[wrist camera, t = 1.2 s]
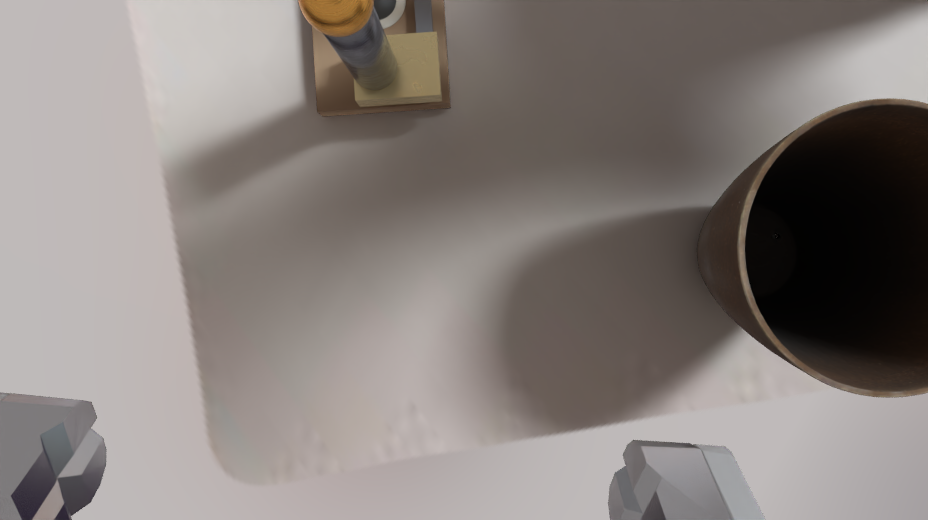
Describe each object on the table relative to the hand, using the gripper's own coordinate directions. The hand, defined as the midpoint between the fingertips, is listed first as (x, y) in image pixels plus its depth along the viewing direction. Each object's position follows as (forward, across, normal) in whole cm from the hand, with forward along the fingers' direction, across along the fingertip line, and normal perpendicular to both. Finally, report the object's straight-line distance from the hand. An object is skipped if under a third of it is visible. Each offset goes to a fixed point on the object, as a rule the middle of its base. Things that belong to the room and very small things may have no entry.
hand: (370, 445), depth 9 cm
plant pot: (+32, -26, +14) cm, 43 cm away
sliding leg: (+38, +2, +6) cm, 38 cm away
